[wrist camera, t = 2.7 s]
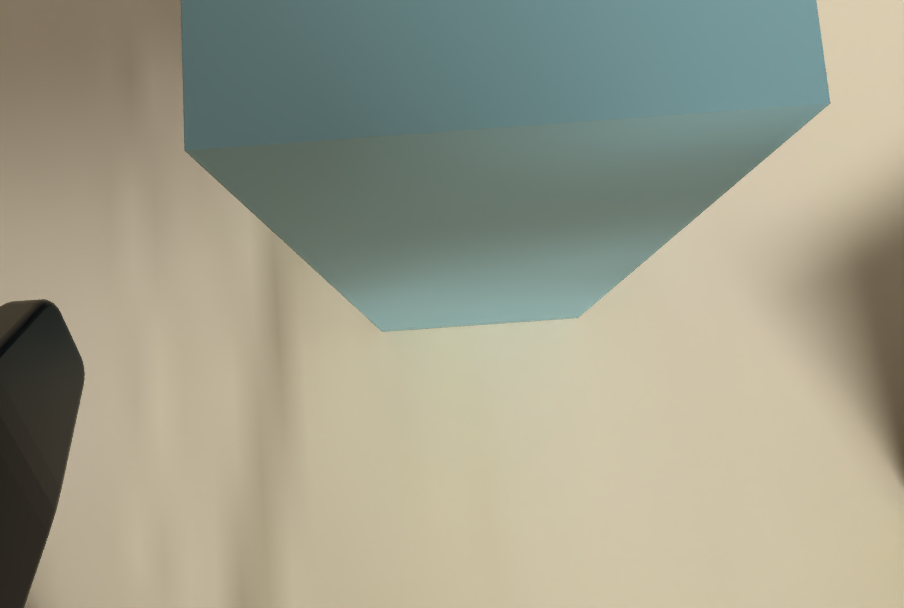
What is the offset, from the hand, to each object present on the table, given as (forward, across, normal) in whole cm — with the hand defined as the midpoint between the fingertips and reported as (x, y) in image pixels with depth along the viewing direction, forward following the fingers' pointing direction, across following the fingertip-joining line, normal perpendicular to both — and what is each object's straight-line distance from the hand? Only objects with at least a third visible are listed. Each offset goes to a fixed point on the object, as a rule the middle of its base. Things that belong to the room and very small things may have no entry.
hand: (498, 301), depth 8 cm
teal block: (+9, 0, +5) cm, 11 cm away
